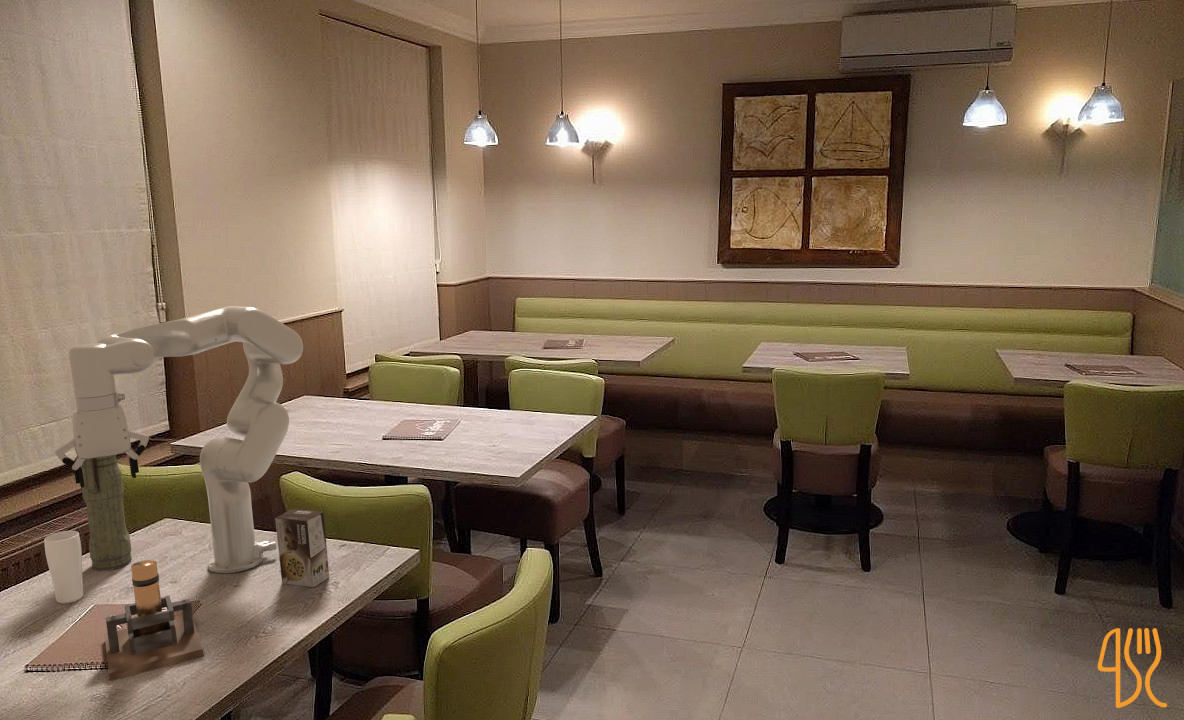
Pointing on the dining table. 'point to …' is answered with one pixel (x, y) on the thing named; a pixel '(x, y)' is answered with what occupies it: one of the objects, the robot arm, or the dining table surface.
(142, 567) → the tan cylinder
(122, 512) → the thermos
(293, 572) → the coffee box
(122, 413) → the robot arm
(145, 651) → the collar stand
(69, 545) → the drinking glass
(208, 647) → the dining table surface
